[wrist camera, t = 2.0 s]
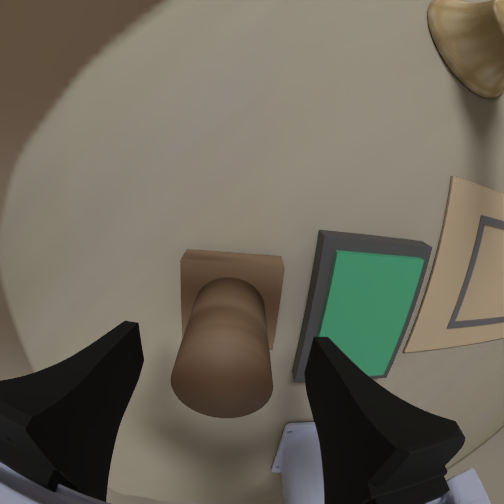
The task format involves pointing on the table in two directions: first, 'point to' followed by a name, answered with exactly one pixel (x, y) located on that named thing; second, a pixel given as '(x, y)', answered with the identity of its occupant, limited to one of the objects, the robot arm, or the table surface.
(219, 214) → the table surface
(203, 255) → the stamp
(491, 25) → the hand bell
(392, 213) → the table surface
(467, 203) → the plate
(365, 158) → the table surface
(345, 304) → the ink pad
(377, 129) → the table surface
